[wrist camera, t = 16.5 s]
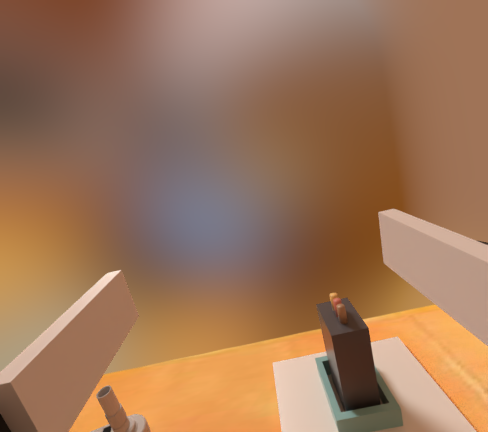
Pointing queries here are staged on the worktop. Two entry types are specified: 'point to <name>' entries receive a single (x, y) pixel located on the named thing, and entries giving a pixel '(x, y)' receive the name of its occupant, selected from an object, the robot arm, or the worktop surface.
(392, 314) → the worktop surface
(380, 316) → the worktop surface
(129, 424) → the electronic device
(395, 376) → the header board
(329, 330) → the block
